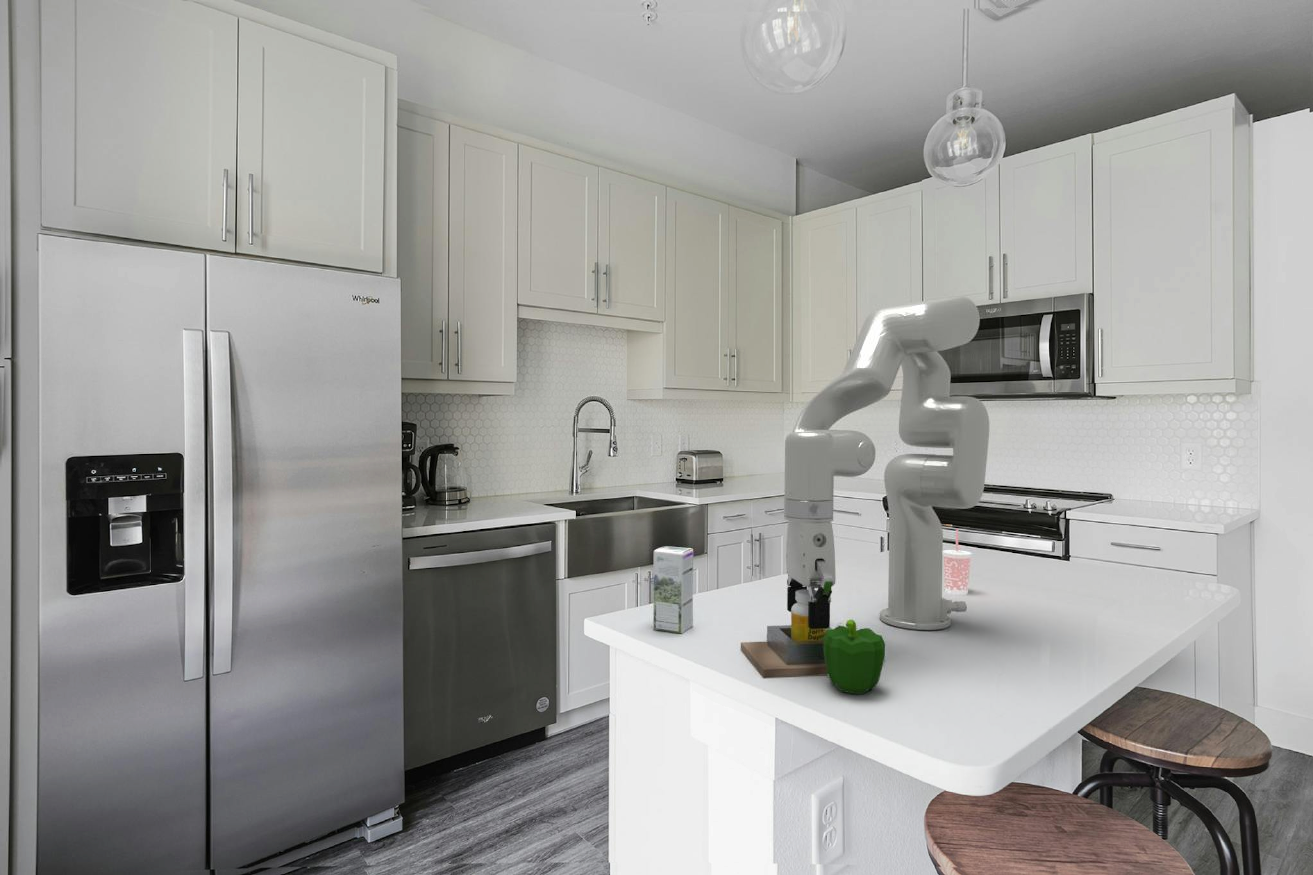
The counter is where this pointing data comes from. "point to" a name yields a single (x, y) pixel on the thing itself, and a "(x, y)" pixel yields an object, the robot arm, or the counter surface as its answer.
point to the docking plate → (777, 662)
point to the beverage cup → (956, 570)
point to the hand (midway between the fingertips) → (807, 619)
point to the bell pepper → (853, 657)
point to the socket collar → (794, 647)
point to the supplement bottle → (803, 619)
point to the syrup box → (673, 589)
